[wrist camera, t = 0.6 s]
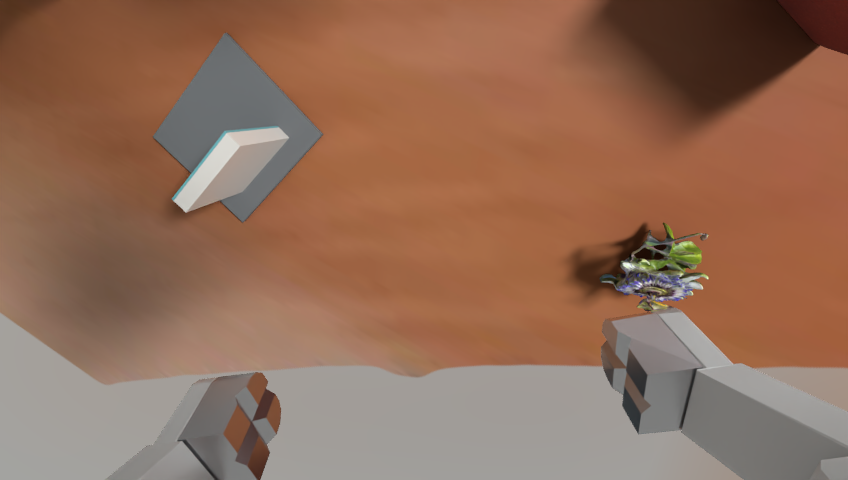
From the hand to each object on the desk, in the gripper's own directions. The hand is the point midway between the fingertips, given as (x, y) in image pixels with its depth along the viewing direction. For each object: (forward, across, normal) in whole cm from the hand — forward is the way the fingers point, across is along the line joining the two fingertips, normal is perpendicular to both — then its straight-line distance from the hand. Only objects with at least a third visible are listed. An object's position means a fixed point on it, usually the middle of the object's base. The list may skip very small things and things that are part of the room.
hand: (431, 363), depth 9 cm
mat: (+50, +28, +1) cm, 57 cm away
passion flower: (+39, -28, +27) cm, 55 cm away
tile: (+48, +25, +5) cm, 55 cm away
